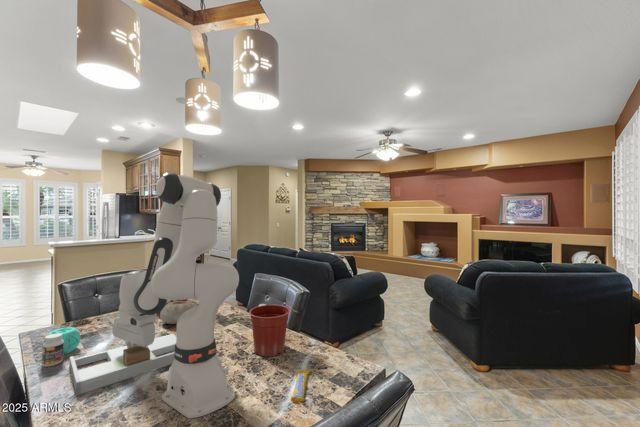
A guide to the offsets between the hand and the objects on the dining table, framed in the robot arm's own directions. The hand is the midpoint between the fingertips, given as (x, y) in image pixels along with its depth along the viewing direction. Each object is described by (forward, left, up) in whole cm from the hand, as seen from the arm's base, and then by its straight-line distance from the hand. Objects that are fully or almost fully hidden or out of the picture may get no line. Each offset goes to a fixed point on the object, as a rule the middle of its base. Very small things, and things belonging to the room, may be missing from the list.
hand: (132, 352), depth 105 cm
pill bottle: (+19, +20, -4) cm, 28 cm away
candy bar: (-54, -35, -4) cm, 64 cm away
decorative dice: (+29, +17, -4) cm, 34 cm away
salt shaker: (-9, -51, -4) cm, 51 cm away
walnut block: (-6, 0, -1) cm, 6 cm away
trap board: (0, -1, -4) cm, 4 cm away
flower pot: (-26, -43, -4) cm, 50 cm away
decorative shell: (+31, -28, -4) cm, 42 cm away
